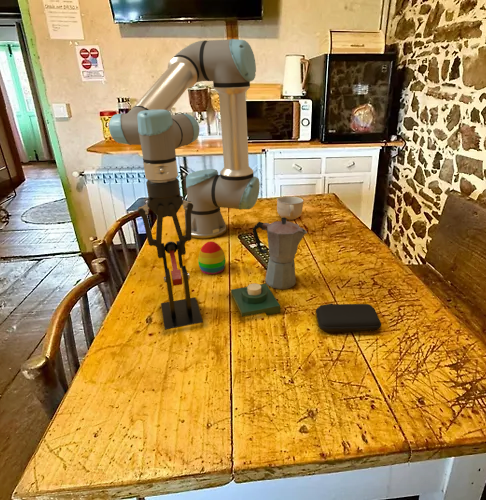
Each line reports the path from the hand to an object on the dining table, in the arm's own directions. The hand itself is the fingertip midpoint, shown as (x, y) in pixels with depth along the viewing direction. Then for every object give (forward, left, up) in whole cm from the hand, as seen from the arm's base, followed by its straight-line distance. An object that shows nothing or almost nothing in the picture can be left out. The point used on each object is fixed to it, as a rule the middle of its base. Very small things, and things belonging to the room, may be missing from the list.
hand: (173, 266), depth 104 cm
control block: (+10, +19, -10) cm, 24 cm away
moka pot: (+1, +29, -10) cm, 31 cm away
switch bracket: (+9, 0, -10) cm, 13 cm away
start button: (+10, +19, -6) cm, 22 cm away
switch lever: (+4, 0, +2) cm, 4 cm away
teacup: (-48, +51, -10) cm, 71 cm away
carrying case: (+25, +38, -10) cm, 47 cm away
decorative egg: (-12, +12, -10) cm, 20 cm away
